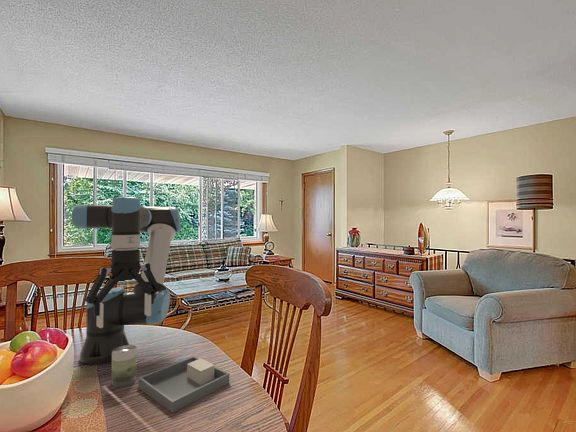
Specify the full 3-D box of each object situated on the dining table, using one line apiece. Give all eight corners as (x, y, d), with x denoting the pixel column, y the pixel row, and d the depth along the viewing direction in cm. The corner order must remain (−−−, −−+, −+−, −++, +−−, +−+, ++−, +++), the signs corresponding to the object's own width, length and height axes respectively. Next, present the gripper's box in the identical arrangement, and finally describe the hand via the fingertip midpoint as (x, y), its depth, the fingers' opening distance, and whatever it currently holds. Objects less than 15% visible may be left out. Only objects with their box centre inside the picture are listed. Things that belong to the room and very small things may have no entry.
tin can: (107, 384, 90) (108, 350, 90) (130, 375, 95) (130, 343, 95) (116, 392, 86) (117, 356, 86) (140, 382, 91) (140, 348, 91)
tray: (138, 390, 87) (138, 377, 87) (193, 366, 101) (193, 356, 101) (172, 416, 76) (172, 402, 76) (229, 385, 90) (229, 373, 90)
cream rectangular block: (186, 377, 93) (187, 363, 93) (200, 371, 97) (200, 358, 97) (200, 385, 88) (200, 371, 88) (214, 378, 92) (214, 365, 92)
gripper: (82, 253, 79) (81, 335, 79) (171, 247, 99) (170, 313, 98) (72, 251, 84) (71, 329, 84) (159, 245, 103) (158, 309, 103)
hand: (125, 320), depth 91 cm, fingers open, 13 cm apart
